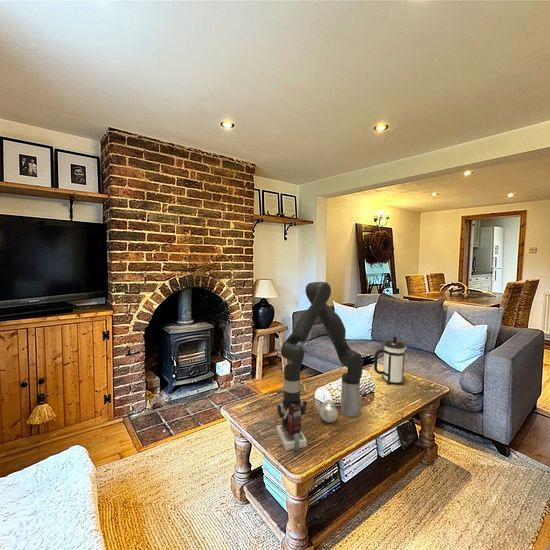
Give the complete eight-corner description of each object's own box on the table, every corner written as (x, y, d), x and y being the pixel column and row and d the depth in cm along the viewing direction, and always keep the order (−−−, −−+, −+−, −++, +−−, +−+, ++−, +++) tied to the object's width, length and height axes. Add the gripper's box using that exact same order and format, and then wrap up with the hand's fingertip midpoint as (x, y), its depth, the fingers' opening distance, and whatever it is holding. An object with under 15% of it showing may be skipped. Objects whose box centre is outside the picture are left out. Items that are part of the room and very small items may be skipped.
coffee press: (387, 374, 208) (388, 331, 205) (409, 382, 196) (412, 337, 193) (372, 381, 197) (374, 336, 194) (396, 390, 185) (398, 342, 182)
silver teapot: (340, 418, 153) (340, 399, 152) (335, 428, 145) (335, 408, 144) (322, 413, 157) (323, 395, 156) (317, 423, 149) (317, 403, 148)
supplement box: (281, 431, 138) (282, 398, 137) (290, 428, 141) (291, 395, 140) (291, 442, 131) (292, 407, 130) (301, 438, 133) (302, 404, 132)
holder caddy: (294, 426, 146) (294, 412, 145) (308, 449, 129) (308, 433, 128) (275, 429, 143) (275, 415, 142) (286, 453, 126) (287, 437, 126)
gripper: (303, 382, 139) (303, 417, 141) (274, 386, 136) (273, 422, 137) (310, 390, 132) (309, 426, 134) (278, 394, 128) (278, 431, 130)
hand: (291, 424), depth 135 cm, fingers open, 5 cm apart
